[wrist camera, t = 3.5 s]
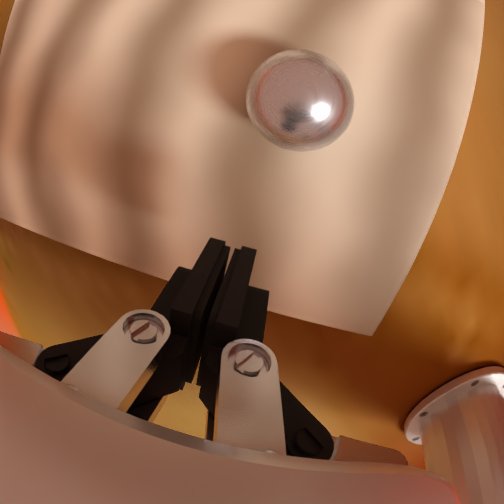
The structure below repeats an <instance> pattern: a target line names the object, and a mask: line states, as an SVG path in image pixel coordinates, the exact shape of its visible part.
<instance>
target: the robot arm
mask: <svg viewBox="0 0 504 504" xmlns="http://www.w3.org/2000/svg"><path fill="white" fill-rule="evenodd" d="M225 244H226V241H223V240H219V239H215V238H212V237H210V239H209V240H208V242H207V244H206V246H205V247H204V249H203V251H202V252H201V254H200V256H199V258H198V259H197V261H196V263H195V265H194V266H193V268H192V270H191V269H188V268H184V267H181V266H179V267H178V268H177V269H176V270H175V272H174V273H173V275H172V277H171V278H170V280H169V281H168V283H167V284H166V286H165V288H164V289H163V291H162V292H161V294H160V296H159V297H158V299H157V300H156V302H155V304H154V305H153V307H152V308H151V310H147V309H138V310H133V311H130V312H127V313H126V314H125V315H123V316H122V317H121V318H120V319H119V320H118V321H117V322H116V323H115V324H114V325H113V326H112V327H111V328H110V329H109V330H108V331H107V332H106V333H105V334H102V335H98V336H94V337H89V338H85V339H81V340H76V341H72V342H67V343H63V344H58V345H54V346H51V347H48V348H46V349H44V348H43V346H42V344H38V343H35V342H32V341H28V340H25V339H22V338H19V337H16V336H13V335H9V334H7V333H4V332H1V331H0V504H504V368H502V367H497V366H492V367H484V368H481V369H477V370H474V371H471V372H469V373H466V374H464V375H462V376H460V377H458V378H456V379H454V380H452V381H450V382H448V383H447V384H445V385H443V386H441V387H440V388H438V389H437V390H435V391H434V392H432V393H431V394H430V395H429V396H427V397H426V398H425V399H423V400H422V401H421V402H420V403H419V404H418V405H417V406H416V407H415V408H414V409H413V410H412V411H411V413H410V414H409V415H408V417H407V419H406V421H405V424H404V431H405V436H406V438H407V440H409V441H410V442H412V443H415V444H421V445H422V447H423V452H424V458H425V464H426V470H423V469H420V468H416V467H412V466H408V462H407V460H406V458H405V456H404V455H403V454H402V453H401V452H399V451H397V450H394V449H391V448H386V447H382V446H378V445H374V444H370V443H366V442H363V441H359V440H355V439H352V438H348V437H345V436H342V435H340V436H339V437H338V438H337V437H334V436H331V434H330V433H329V432H328V430H327V429H326V428H325V427H324V426H323V425H322V424H321V423H320V422H319V421H318V420H317V419H316V418H315V417H314V416H313V415H312V414H311V413H310V412H309V411H308V410H307V409H306V408H305V407H304V406H303V405H302V404H301V403H300V402H299V401H298V400H297V399H296V397H295V396H294V395H293V394H292V393H291V392H290V391H289V390H288V389H287V388H286V387H285V386H284V385H283V384H282V383H281V382H280V381H279V373H278V363H277V359H276V356H275V355H274V353H273V352H272V350H271V349H270V348H268V347H267V346H266V345H265V344H263V336H264V329H265V321H266V314H267V307H268V300H269V291H268V290H264V289H261V288H257V287H253V286H249V281H250V277H251V273H252V269H253V265H254V261H255V256H256V252H257V250H256V249H253V248H249V247H245V246H242V247H241V249H237V248H235V249H234V252H233V255H232V257H231V260H230V262H229V265H228V268H227V270H226V266H227V261H228V257H229V252H230V247H229V246H226V245H225ZM225 270H226V273H225ZM224 275H225V276H224ZM201 354H202V355H201ZM200 357H201V360H200ZM199 360H200V366H199V372H198V378H197V384H196V385H198V386H201V388H200V394H199V398H200V399H201V401H202V402H203V404H204V405H205V406H206V408H207V409H208V410H207V416H206V428H205V439H202V438H198V437H195V436H191V435H188V434H184V433H181V432H178V431H175V430H172V429H168V428H165V427H162V426H160V425H157V424H154V423H153V421H154V419H155V418H156V416H157V415H158V413H159V411H160V410H161V408H162V406H163V405H164V403H165V402H166V399H167V396H168V394H171V393H174V392H177V391H179V389H180V390H183V387H184V385H185V382H188V383H192V380H193V378H194V375H195V372H196V369H197V366H198V363H199Z"/></svg>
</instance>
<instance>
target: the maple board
mask: <svg viewBox="0 0 504 504" xmlns="http://www.w3.org/2000/svg"><path fill="white" fill-rule="evenodd" d="M484 10H485V0H15V2H14V5H13V8H12V11H11V15H10V18H9V21H8V25H7V29H6V32H5V36H4V40H3V45H2V49H1V54H0V218H2V219H4V220H7V221H9V222H11V223H14V224H16V225H18V226H21V227H23V228H26V229H28V230H30V231H33V232H35V233H38V234H40V235H43V236H45V237H48V238H50V239H53V240H55V241H58V242H60V243H63V244H66V245H68V246H71V247H73V248H76V249H79V250H81V251H84V252H87V253H89V254H92V255H95V256H97V257H100V258H103V259H106V260H108V261H111V262H114V263H117V264H120V265H123V266H125V267H128V268H131V269H134V270H137V271H140V272H143V273H146V274H149V275H152V276H155V277H158V278H161V279H164V280H167V281H169V280H170V278H171V277H172V275H173V273H174V272H175V270H176V269H177V268H178V267H179V266H181V267H184V268H188V269H191V270H192V268H193V266H194V265H195V263H196V261H197V259H198V258H199V256H200V254H201V252H202V251H203V249H204V247H205V246H206V244H207V242H208V240H209V239H210V237H212V238H215V239H219V240H223V241H226V244H225V245H226V246H229V247H230V252H229V257H228V261H227V266H226V270H227V268H228V265H229V262H230V260H231V257H232V255H233V252H234V249H235V248H237V249H241V247H242V246H245V247H249V248H253V249H256V250H257V252H256V256H255V261H254V265H253V269H252V273H251V277H250V281H249V286H253V287H257V288H261V289H264V290H268V291H269V300H268V307H267V311H271V312H274V313H278V314H282V315H285V316H289V317H293V318H297V319H301V320H305V321H308V322H312V323H316V324H320V325H324V326H329V327H333V328H337V329H341V330H345V331H349V332H354V333H358V334H363V335H367V336H371V337H372V335H373V333H374V332H375V330H376V329H377V327H378V325H379V324H380V322H381V320H382V319H383V317H384V315H385V314H386V312H387V310H388V308H389V307H390V305H391V303H392V301H393V300H394V298H395V296H396V294H397V293H398V291H399V289H400V287H401V285H402V283H403V281H404V280H405V278H406V276H407V274H408V272H409V270H410V268H411V266H412V264H413V262H414V260H415V258H416V256H417V254H418V252H419V250H420V247H421V245H422V243H423V241H424V239H425V237H426V234H427V232H428V230H429V228H430V225H431V223H432V221H433V218H434V216H435V214H436V211H437V209H438V206H439V204H440V201H441V199H442V196H443V194H444V191H445V188H446V186H447V183H448V180H449V177H450V175H451V172H452V169H453V166H454V163H455V160H456V157H457V154H458V150H459V147H460V144H461V140H462V137H463V134H464V130H465V126H466V123H467V119H468V115H469V111H470V107H471V102H472V98H473V93H474V88H475V83H476V78H477V72H478V66H479V60H480V53H481V45H482V36H483V26H484ZM294 49H301V50H309V51H314V52H317V53H319V54H322V55H324V56H326V57H328V58H329V59H331V60H332V61H333V62H335V63H336V64H337V65H338V66H339V67H340V68H341V69H342V70H343V72H344V73H345V74H346V76H347V78H348V79H349V81H350V84H351V86H352V89H353V94H354V112H353V116H352V119H351V122H350V124H349V126H348V128H347V129H346V131H345V132H344V133H343V134H342V135H341V136H340V137H339V138H338V139H337V140H336V141H335V142H333V143H332V144H330V145H328V146H326V147H324V148H322V149H318V150H315V151H309V152H297V151H290V150H286V149H283V148H280V147H278V146H276V145H274V144H272V143H271V142H269V141H268V140H266V139H265V138H264V137H263V136H262V135H261V134H260V133H259V132H258V131H257V130H256V128H255V127H254V125H253V124H252V122H251V120H250V118H249V115H248V112H247V108H246V90H247V85H248V82H249V80H250V78H251V76H252V74H253V72H254V71H255V69H256V68H257V67H258V66H259V65H260V64H261V63H262V62H263V61H264V60H266V59H267V58H269V57H270V56H272V55H274V54H277V53H279V52H282V51H286V50H294ZM226 270H225V273H226ZM224 276H225V275H224Z"/></svg>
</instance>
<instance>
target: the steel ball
mask: <svg viewBox="0 0 504 504" xmlns="http://www.w3.org/2000/svg"><path fill="white" fill-rule="evenodd" d="M246 108H247V112H248V115H249V118H250V120H251V122H252V124H253V125H254V127H255V128H256V130H257V131H258V132H259V133H260V134H261V135H262V136H263V137H264V138H265V139H266V140H268V141H269V142H271V143H272V144H274V145H276V146H278V147H280V148H283V149H286V150H290V151H297V152H309V151H315V150H318V149H322V148H324V147H326V146H328V145H330V144H332V143H333V142H335V141H336V140H337V139H338V138H339V137H340V136H341V135H342V134H343V133H344V132H345V131H346V129H347V128H348V126H349V124H350V122H351V119H352V116H353V112H354V94H353V89H352V86H351V84H350V81H349V79H348V78H347V76H346V74H345V73H344V72H343V70H342V69H341V68H340V67H339V66H338V65H337V64H336V63H335V62H333V61H332V60H331V59H329V58H328V57H326V56H324V55H322V54H319V53H317V52H314V51H309V50H301V49H294V50H286V51H282V52H279V53H277V54H274V55H272V56H270V57H269V58H267V59H266V60H264V61H263V62H262V63H261V64H260V65H259V66H258V67H257V68H256V69H255V71H254V72H253V74H252V76H251V78H250V80H249V82H248V85H247V90H246Z"/></svg>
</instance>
